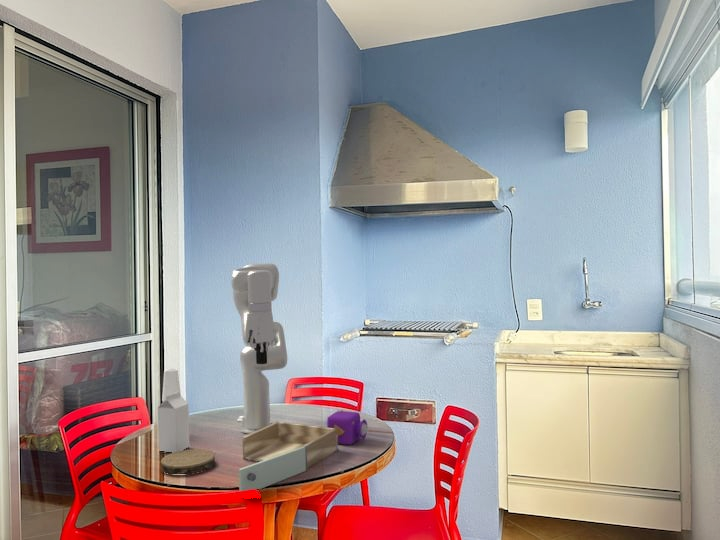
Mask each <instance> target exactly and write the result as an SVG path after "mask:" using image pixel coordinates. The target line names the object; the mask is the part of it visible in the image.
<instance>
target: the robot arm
mask: <svg viewBox="0 0 720 540" xmlns="http://www.w3.org/2000/svg"><path fill="white" fill-rule="evenodd" d="M230 280H231V281H230V284H231V287H232V296H233V302H234V305H235V308H236V310H237V312H238V314H239V318H240V322H241V332H242V341H243V343H244V345H245V347H243V349H242V350H241V351H240V353H239V357H240V364H241V365H240V366H241V371H242V382H243V386H242V387H243V409H244V410H243V413H244V415H240V416H239V417H238V418H237V420H236V421H237V423H238V424H239V423H240V424H242V425H241V427H240V432H241V433H244V434H247V435H248V434H251V433H253V432H255V431H257V430H260V429H262V428H264V427H266V426H269V425H271V424H273V423H274V422H271V406H270V404H271V403H270V400H271V399H270V382H269V381H270V380H269V379H268V377H266V375H265V374H264V373H263V372H264V371H272V370H274V371H276V370H280V369H281V370H283V369H284V368H286V366H287V364H288V353H287V351H288V350H287V345H286V337H285V330H284V327H283V325H282V324H281V323H280V322H278V321H274V317H273V316H274V315H273V312H272V310H273V308H272V305H273V304H272V302H274V301H275V300H277V297H278V291H279V282H280V272H279V269H278V266H277V265H276V264H274V263H270V262H268V263H267V262H266V263H249V264H247V265H245V266H243V267H242V268H236V269H234V270H233V271H232V273H231V278H230Z"/></svg>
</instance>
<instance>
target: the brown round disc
mask: <svg viewBox="0 0 720 540" xmlns="http://www.w3.org/2000/svg"><path fill="white" fill-rule="evenodd" d="M215 458H216V457H215V452H214V451H212V450H209V449H206V448H205V449H204V448H193V449H192V448H191V449H185V450H182V451H177V452H174V453H169V454H166V455H164V457H163V458H161V461H160V470H161V469H162V471H163V472H165V473H168V474H192V473H196V474H198V473H197V472H201V471H203V472H205V471H204V470H206V471H208V470H210V469H211V467H212V466H213V465H214V464H216V462H215V461H216V460H215ZM214 466H215V465H214ZM214 466H213V467H214ZM213 467H212V468H213ZM209 468H210V469H209ZM207 469H208V470H207ZM162 471H161V472H162ZM163 472H162V473H163ZM201 473H202V472H201ZM192 475H193V474H192Z"/></svg>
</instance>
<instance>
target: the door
mask: <svg viewBox="0 0 720 540" xmlns="http://www.w3.org/2000/svg"><path fill="white" fill-rule="evenodd" d="M306 471H307V472H308V469H307V446H303V447H300V448H297V449H295V450H292V451H289V452H286V453H283V454H280V455H277V456H275V457H272V458H269V459H266V460H263V461H260V462H258V461H257V462H255V463H252V464H250V465H247V466H246V465H245V466H244V467H241V468H238V488H239V489H238V491H242V490H249V489H259V490H261V489H263V488H266V487H269V486H271V485H274V484H276V483H277V484H278V483H279V482H283V481H284V480H286V479H290V478H292V477H294V476H297V475H299V474H301V473H304V472H306Z"/></svg>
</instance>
